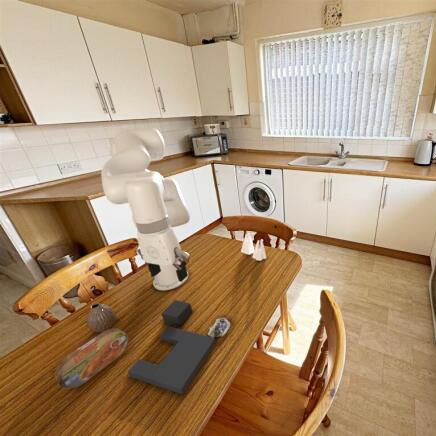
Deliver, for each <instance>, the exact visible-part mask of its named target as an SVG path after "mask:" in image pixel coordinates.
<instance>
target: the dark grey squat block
mask: <svg viewBox="0 0 436 436" xmlns="http://www.w3.org/2000/svg"><path fill="white" fill-rule="evenodd" d="M192 314H193V309H192V305H191V303H190V302H186V301H182V300H177V299H174V300H173V301H172V302H171V303H170V304H169V305H168V306H166V308H165V309H164V310H163V311H162V312H161V318H162V320H163V323H164V324H167V325H172V326H175V327H182V325H184V323H185V322H186V321H187V319H189V318H190V316H191V315H192Z"/></svg>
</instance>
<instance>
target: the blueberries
mask: <svg viewBox="0 0 436 436" xmlns="http://www.w3.org/2000/svg"><path fill="white" fill-rule="evenodd" d="M231 324H232V323H231V322H230V320H228V319H227V318H226V317H219V318H217V319H216V320H215V322H214V323H213V324H211V327H210V326H209V329H208V330H207V332H206V334H207V336H208V337H211V338H215V339H216V338H219V337H221V338H222V337H225V335H226V334H227V333H228V331H229V329H230V328H231Z"/></svg>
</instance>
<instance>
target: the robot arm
mask: <svg viewBox="0 0 436 436" xmlns="http://www.w3.org/2000/svg"><path fill="white" fill-rule="evenodd" d="M165 151H166V145H165V140H164V137H163V135H162V134H161V132H160V131H159V130H158V129H156V128H154V127H139V128H127V129H121V130H118V131H117V132H116V133H115V134H114V136H113V143H112V144H111V145H110V146H109V152H110V153H109V154H110V156H111V158H110V159H108V161H106V162H105V163H104V164H103V166H102V168H101V171H100V176H101V185H102V190H103V193H104V196H105V197H106V199H107V200H108V201H109V202H110V203H111V204H115V205H124V204H129V207H130V211H131V213H132V214H131V215H132V217H131V218H132V221H133V224H134V226H135V228H136V229H137V231H136V237H137V243H138V246H139V247H138V248H137V249H136V252H137V254H138V255H139V256H140V258H141V260H143V262H144V264H145V266H147V268H148V273H149V275H150V276H151V278H154V279H153V281H152V285H153V287H154V288H155V289H156V290H158V291H170V290H173V289H176V288H178V287H180V286H182V285H184V283H185V282H186V281H187V280H188V278H189V272H188V270H187V265H188V264H189V263H190V259H191V255H190V254H189V253H187V252H185V251H184V250H182V248H181V245H180V243H179V239H178V238H177V237H178V236H177V234H176V232H175V230H174V228H175V227H180V226H183V225H186V224H188V223H189V222H190V219H191V215H190V214H191V213H190V210H189V208H188V204H187V203H186V200H185V197H184V195H183V193H182V190H181V187H180V185H179V184H178V182H177V181H176V180H175V179H174V178H171V177H170V178H165V177H164V176H163V175H161V174H160V172H158V171H155V170H149V169H147V168H148V167H149V166H150V165H151V164H150V163H151V162H154V161H155V162H156V161H161V160H163V159H164V157H165Z"/></svg>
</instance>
